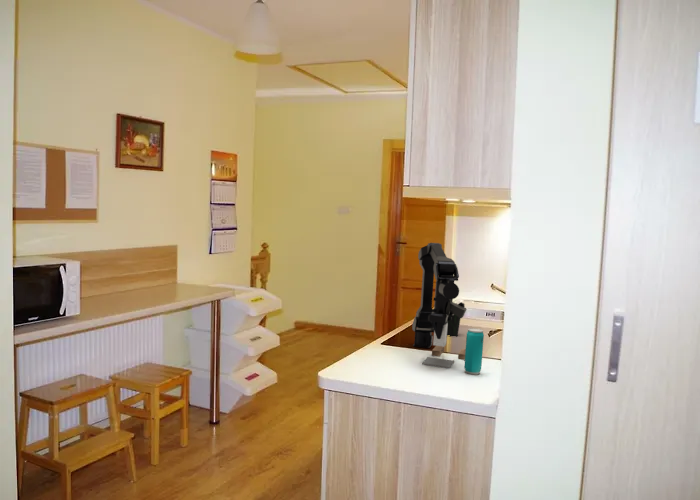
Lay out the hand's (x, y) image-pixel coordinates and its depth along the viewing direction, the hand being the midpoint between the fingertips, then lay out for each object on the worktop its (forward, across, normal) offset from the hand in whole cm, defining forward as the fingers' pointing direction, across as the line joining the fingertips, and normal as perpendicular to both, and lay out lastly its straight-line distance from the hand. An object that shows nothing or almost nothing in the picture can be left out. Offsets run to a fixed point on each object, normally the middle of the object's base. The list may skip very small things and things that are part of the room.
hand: (440, 337), depth 209 cm
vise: (+10, +15, -4) cm, 18 cm away
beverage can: (+10, -6, -13) cm, 17 cm away
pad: (+9, 0, 0) cm, 9 cm away
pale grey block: (+3, 0, 0) cm, 3 cm away
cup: (+10, +53, +4) cm, 54 cm away
